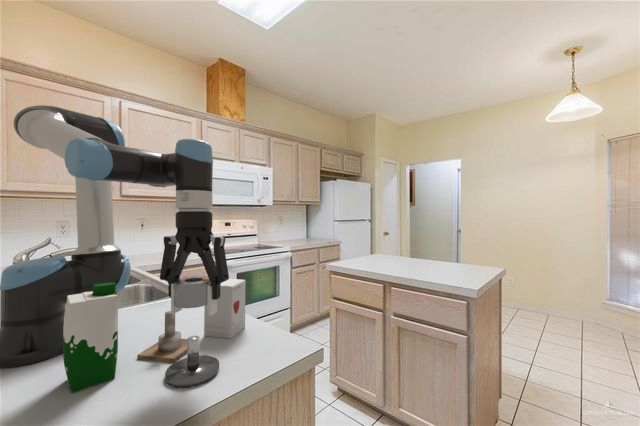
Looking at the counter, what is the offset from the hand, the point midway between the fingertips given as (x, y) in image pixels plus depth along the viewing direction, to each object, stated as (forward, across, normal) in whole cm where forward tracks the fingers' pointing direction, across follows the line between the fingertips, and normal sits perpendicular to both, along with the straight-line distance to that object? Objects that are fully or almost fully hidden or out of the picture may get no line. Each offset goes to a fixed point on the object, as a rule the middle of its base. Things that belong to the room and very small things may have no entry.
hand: (194, 312), depth 63 cm
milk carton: (+14, -20, -6) cm, 25 cm away
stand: (+13, -12, +8) cm, 20 cm away
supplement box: (+14, -4, +22) cm, 26 cm away
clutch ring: (-2, 0, 0) cm, 2 cm away
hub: (+14, 0, 0) cm, 14 cm away
